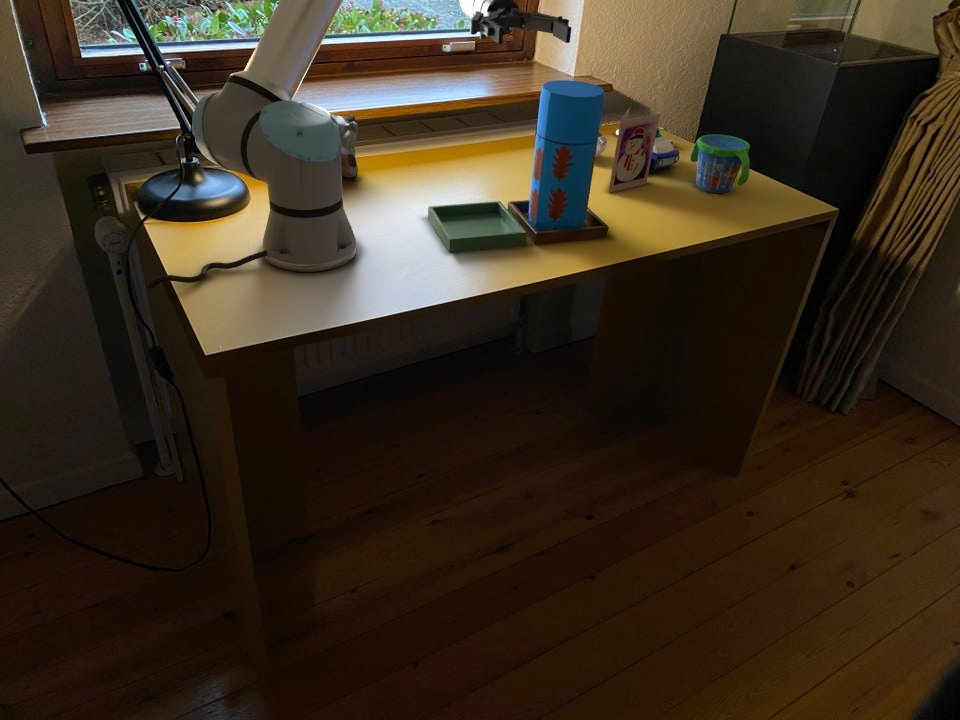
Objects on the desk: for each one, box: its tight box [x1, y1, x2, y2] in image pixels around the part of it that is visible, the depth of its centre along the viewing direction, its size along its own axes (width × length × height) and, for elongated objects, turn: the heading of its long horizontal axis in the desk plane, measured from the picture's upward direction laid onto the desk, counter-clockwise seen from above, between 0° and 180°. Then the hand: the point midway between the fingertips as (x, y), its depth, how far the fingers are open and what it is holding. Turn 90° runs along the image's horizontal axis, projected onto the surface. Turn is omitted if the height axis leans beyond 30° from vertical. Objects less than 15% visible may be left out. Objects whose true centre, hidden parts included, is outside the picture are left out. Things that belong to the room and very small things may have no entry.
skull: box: [595, 131, 608, 158], centre depth 168 cm, size 8×9×12 cm
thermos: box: [528, 79, 605, 232], centre depth 132 cm, size 11×11×25 cm
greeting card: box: [608, 106, 661, 194], centre depth 154 cm, size 11×7×15 cm, turn 126°
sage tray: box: [427, 200, 528, 253], centre depth 133 cm, size 14×14×2 cm
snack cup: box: [689, 133, 751, 194], centre depth 156 cm, size 16×10×10 cm
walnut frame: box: [507, 199, 610, 245], centre depth 138 cm, size 14×14×2 cm
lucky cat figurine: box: [333, 113, 359, 180], centre depth 149 cm, size 15×12×14 cm
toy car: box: [648, 125, 681, 173], centre depth 166 cm, size 9×12×10 cm
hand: (535, 35), depth 136 cm, fingers open, 13 cm apart
